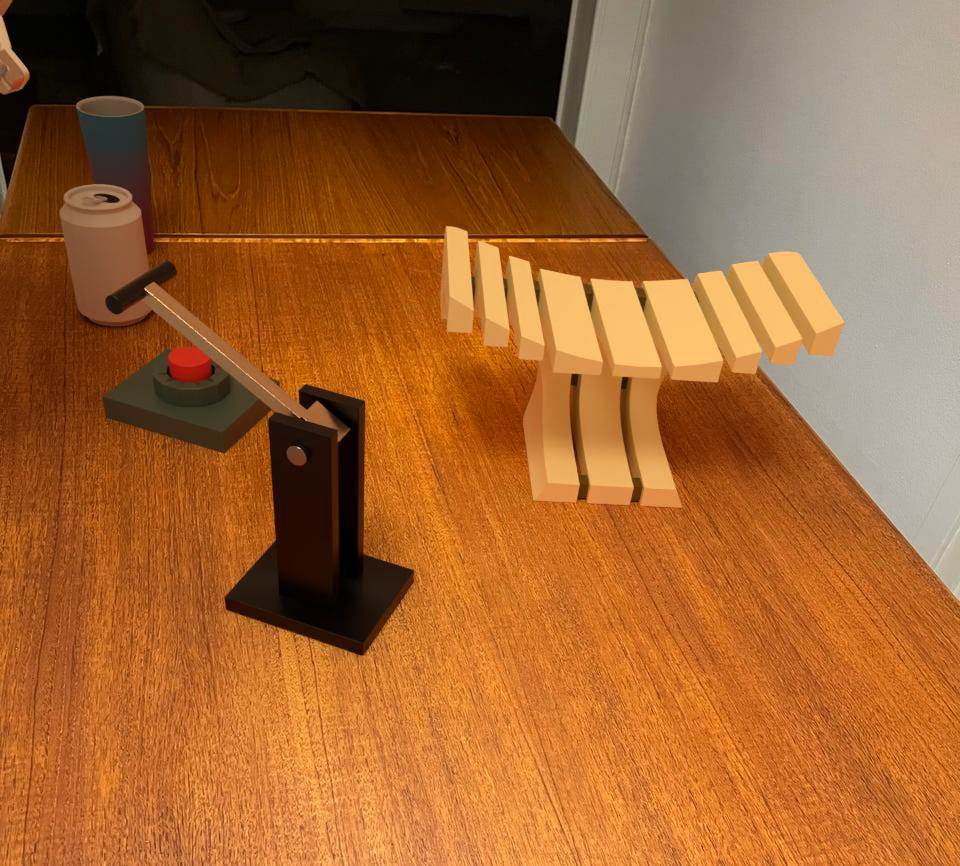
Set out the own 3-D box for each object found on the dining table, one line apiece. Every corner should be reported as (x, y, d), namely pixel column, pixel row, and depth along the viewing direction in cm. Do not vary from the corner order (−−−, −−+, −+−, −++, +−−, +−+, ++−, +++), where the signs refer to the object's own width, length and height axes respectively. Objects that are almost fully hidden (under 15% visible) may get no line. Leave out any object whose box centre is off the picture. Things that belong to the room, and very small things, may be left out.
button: (162, 377, 89) (159, 359, 87) (185, 360, 91) (182, 342, 90) (198, 388, 88) (195, 370, 87) (219, 370, 90) (218, 352, 89)
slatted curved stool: (735, 416, 100) (789, 237, 88) (776, 512, 88) (844, 322, 76) (433, 398, 97) (445, 211, 85) (435, 495, 86) (449, 295, 73)
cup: (131, 231, 119) (110, 91, 108) (175, 247, 116) (158, 106, 106) (87, 248, 114) (61, 105, 104) (132, 265, 112) (110, 120, 102)
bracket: (225, 609, 73) (203, 419, 62) (285, 541, 79) (275, 358, 69) (362, 656, 71) (365, 467, 60) (413, 581, 77) (424, 399, 66)
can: (170, 311, 105) (155, 193, 97) (117, 337, 100) (97, 215, 92) (117, 290, 107) (98, 173, 99) (62, 314, 103) (38, 194, 94)
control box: (106, 418, 90) (98, 377, 87) (169, 369, 97) (164, 330, 94) (224, 454, 87) (220, 413, 85) (280, 401, 94) (278, 362, 92)
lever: (99, 312, 62) (110, 284, 60) (156, 276, 66) (168, 249, 64) (305, 481, 64) (321, 459, 63) (347, 437, 69) (363, 415, 67)
